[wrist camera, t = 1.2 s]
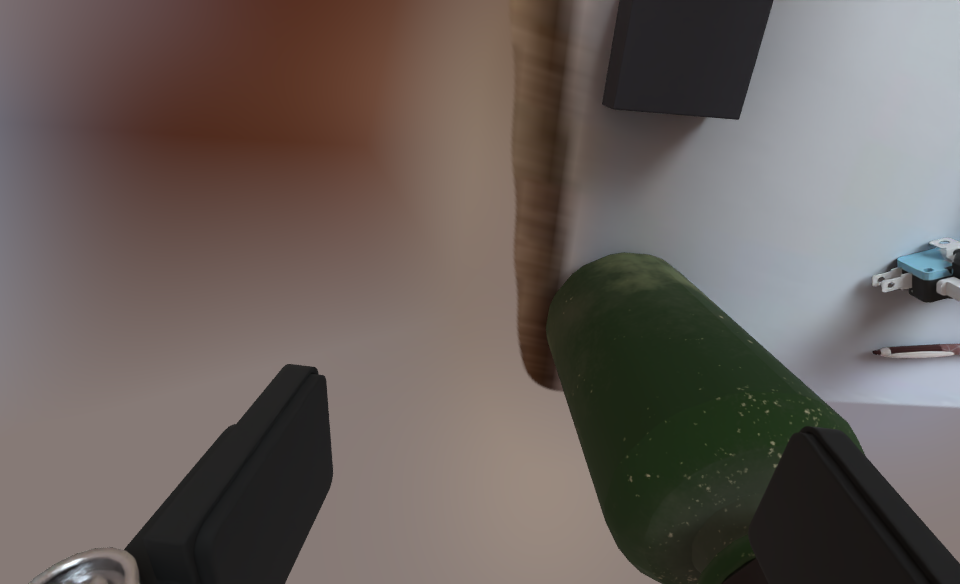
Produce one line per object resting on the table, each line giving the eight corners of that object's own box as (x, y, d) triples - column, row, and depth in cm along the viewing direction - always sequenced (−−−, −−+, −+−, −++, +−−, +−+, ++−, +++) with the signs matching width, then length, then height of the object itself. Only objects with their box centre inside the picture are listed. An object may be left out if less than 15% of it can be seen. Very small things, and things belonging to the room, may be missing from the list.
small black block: (623, -24, 26) (639, -40, 22) (746, -16, 25) (782, -30, 22) (601, 104, 28) (613, 109, 25) (712, 113, 28) (739, 119, 24)
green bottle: (584, 228, 31) (925, 649, 8) (718, 279, 33) (1308, 740, 10) (522, 356, 35) (634, 886, 12) (645, 395, 37) (947, 919, 14)
